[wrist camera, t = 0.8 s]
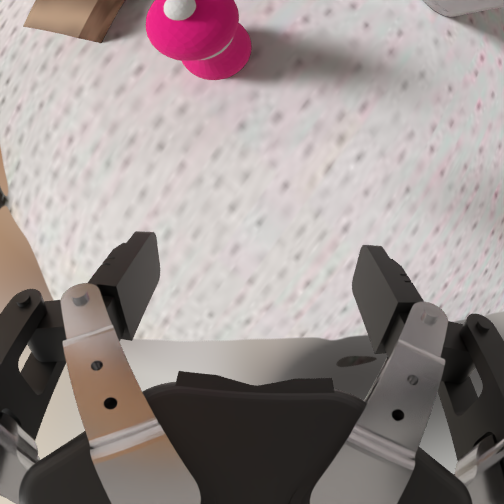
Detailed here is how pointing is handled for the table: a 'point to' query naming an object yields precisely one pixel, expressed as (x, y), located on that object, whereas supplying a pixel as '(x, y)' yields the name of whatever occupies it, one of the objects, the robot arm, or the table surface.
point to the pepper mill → (200, 35)
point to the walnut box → (74, 17)
